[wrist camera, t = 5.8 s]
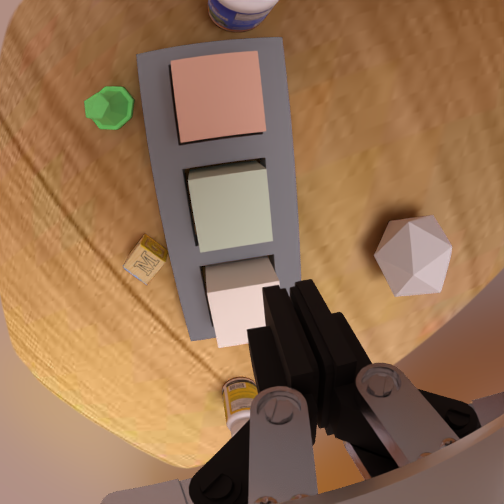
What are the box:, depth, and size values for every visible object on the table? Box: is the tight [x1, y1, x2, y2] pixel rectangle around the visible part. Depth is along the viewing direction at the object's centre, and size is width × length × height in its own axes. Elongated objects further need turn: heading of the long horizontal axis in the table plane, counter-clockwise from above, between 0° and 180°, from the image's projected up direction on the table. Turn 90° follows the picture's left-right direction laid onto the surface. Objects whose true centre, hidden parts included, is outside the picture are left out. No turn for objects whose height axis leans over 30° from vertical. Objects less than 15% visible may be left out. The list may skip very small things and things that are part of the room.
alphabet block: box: [123, 234, 168, 285], centre depth 30 cm, size 3×3×3 cm
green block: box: [188, 160, 273, 253], centre depth 27 cm, size 6×6×5 cm
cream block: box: [205, 256, 280, 348], centre depth 30 cm, size 6×6×5 cm
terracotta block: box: [171, 51, 266, 143], centre depth 22 cm, size 6×6×5 cm
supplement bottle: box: [222, 378, 258, 437], centre depth 37 cm, size 5×5×8 cm
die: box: [374, 215, 452, 296], centre depth 32 cm, size 8×9×10 cm
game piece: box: [84, 86, 135, 130], centre depth 22 cm, size 4×4×6 cm
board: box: [136, 37, 301, 341], centre depth 29 cm, size 28×12×3 cm, turn 6°
